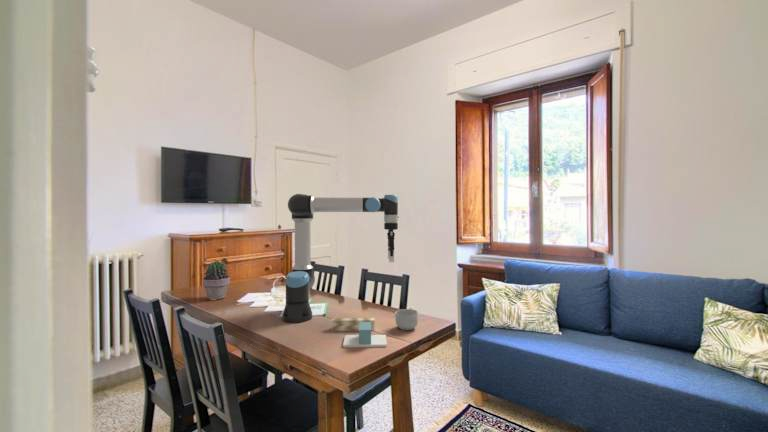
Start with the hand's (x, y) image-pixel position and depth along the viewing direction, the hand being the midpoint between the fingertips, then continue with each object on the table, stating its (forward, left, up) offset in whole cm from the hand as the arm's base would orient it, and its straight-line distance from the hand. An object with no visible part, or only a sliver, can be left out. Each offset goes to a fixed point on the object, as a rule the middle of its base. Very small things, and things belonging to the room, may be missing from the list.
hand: (390, 260), depth 194 cm
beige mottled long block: (-19, -30, -28) cm, 46 cm away
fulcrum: (-13, -46, -28) cm, 56 cm away
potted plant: (-109, +27, -28) cm, 116 cm away
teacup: (+7, -28, -28) cm, 41 cm away
